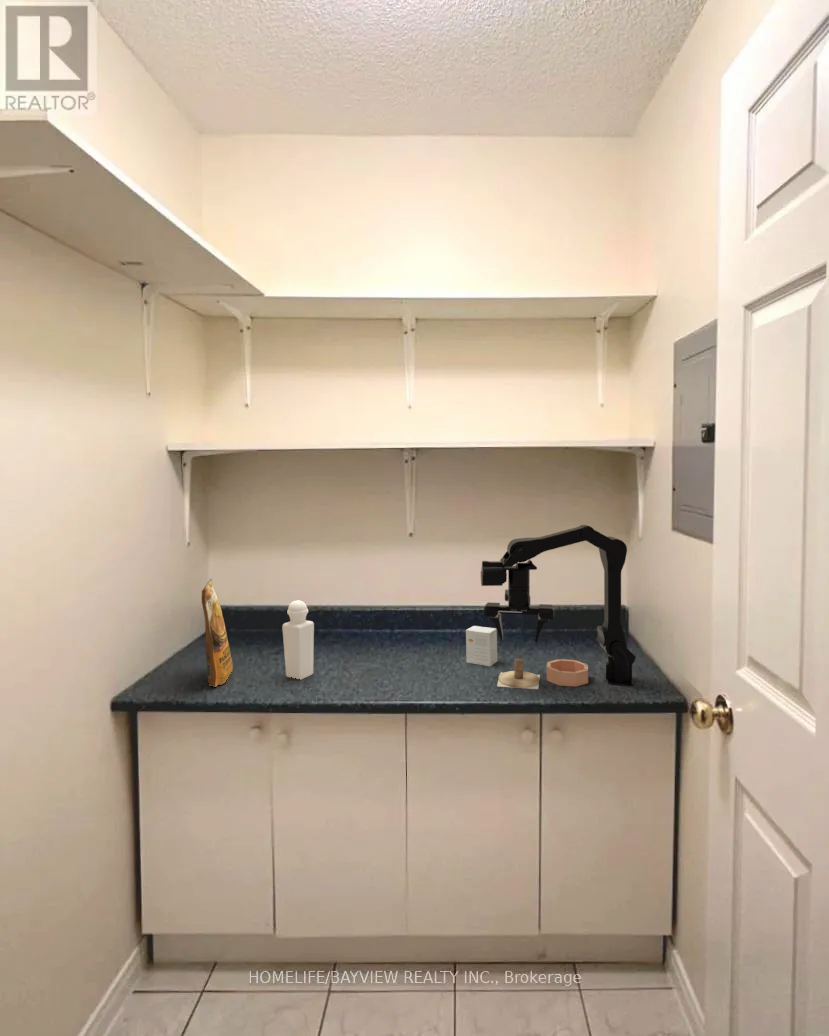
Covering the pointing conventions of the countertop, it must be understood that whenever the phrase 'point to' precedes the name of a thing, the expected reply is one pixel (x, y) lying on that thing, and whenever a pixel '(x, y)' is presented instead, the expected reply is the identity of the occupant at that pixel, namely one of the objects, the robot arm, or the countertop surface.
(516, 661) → the lid
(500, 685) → the mat
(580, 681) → the bowl
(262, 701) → the countertop surface
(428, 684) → the countertop surface
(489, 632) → the small box
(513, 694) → the countertop surface
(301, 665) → the white square bottle
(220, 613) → the pancake mix bag
